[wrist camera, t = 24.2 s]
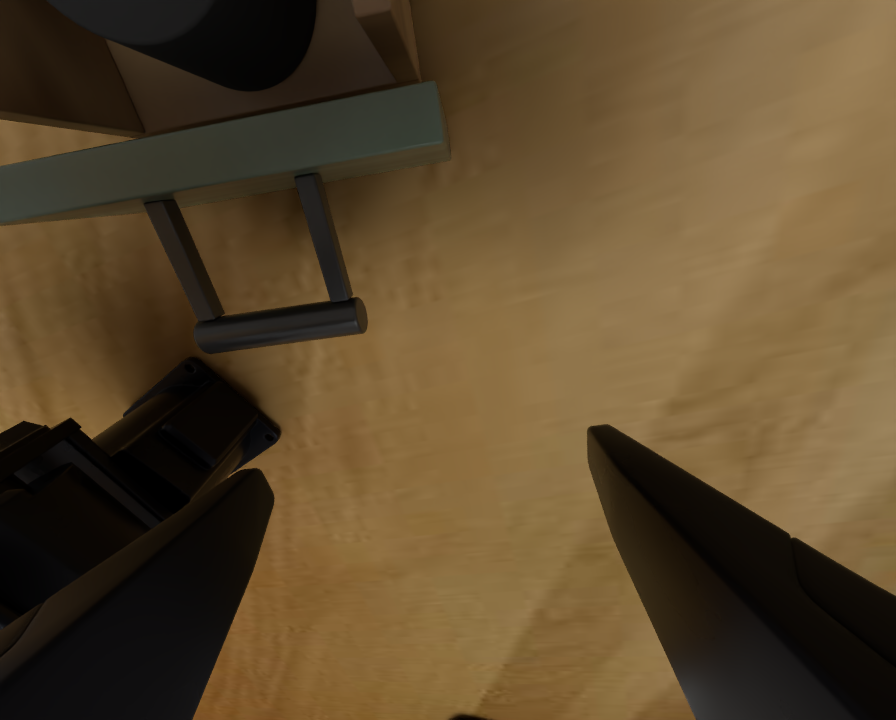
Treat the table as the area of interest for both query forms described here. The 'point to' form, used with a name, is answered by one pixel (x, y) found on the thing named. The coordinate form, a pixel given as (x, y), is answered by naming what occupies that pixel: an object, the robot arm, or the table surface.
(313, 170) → the drawer
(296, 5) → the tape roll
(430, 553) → the table surface
